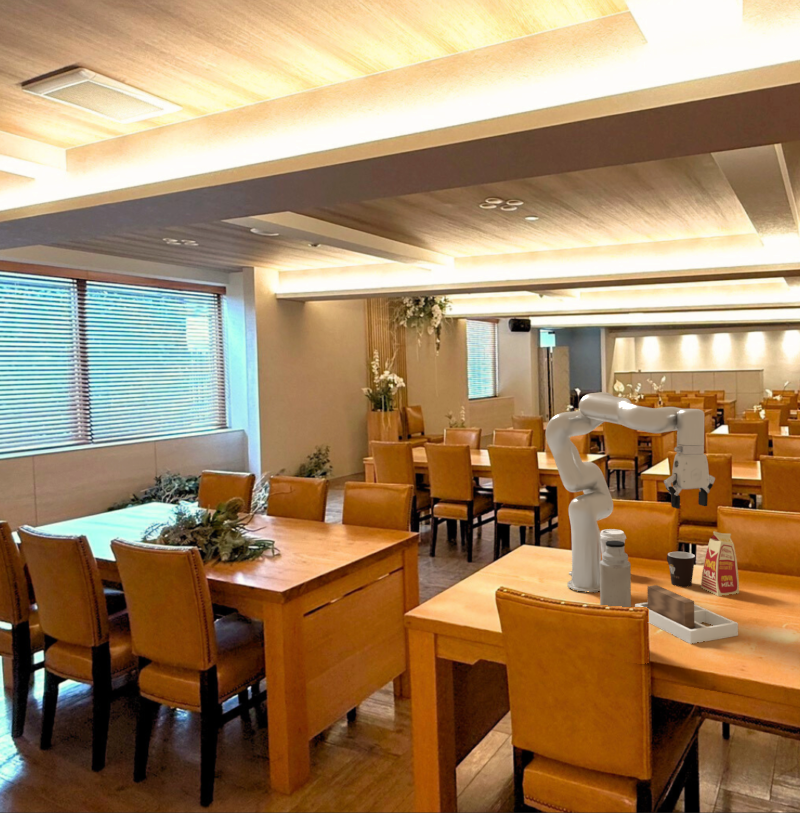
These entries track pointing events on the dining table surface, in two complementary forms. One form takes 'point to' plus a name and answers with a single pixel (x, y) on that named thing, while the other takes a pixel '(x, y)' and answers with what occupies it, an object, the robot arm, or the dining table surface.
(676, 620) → the brown wooden block
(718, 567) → the milk carton
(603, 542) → the coffee cup
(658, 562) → the dining table surface
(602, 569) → the thermos bottle
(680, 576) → the coffee mug
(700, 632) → the white compartment tray
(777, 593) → the dining table surface
